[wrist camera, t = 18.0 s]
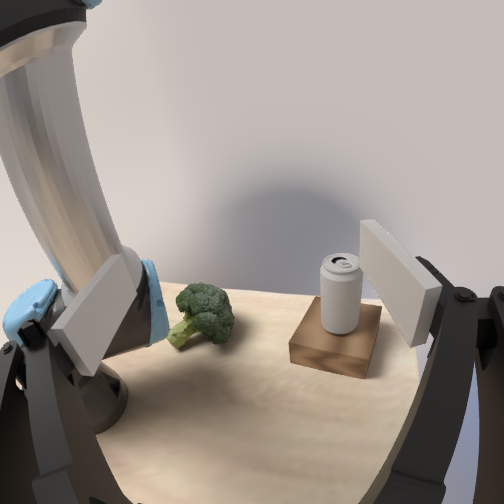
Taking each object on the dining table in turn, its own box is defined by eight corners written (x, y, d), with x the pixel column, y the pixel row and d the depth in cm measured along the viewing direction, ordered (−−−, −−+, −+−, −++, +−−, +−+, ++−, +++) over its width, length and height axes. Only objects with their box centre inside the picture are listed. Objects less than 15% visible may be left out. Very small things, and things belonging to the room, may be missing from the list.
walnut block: (290, 362, 44) (288, 342, 42) (316, 316, 54) (315, 296, 52) (364, 379, 37) (368, 359, 35) (378, 326, 47) (382, 306, 45)
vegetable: (162, 316, 57) (212, 271, 58) (199, 361, 55) (252, 318, 56) (138, 319, 45) (199, 264, 47) (183, 375, 43) (248, 323, 45)
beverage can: (345, 308, 47) (347, 247, 42) (365, 328, 41) (372, 264, 36) (314, 320, 46) (312, 258, 40) (332, 342, 40) (335, 277, 35)
